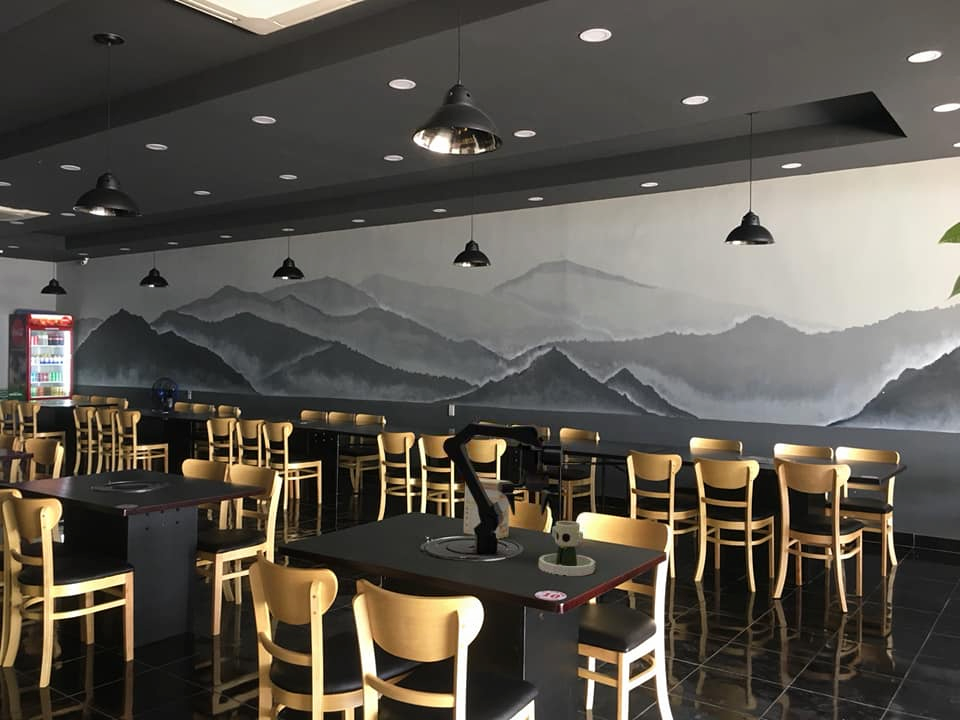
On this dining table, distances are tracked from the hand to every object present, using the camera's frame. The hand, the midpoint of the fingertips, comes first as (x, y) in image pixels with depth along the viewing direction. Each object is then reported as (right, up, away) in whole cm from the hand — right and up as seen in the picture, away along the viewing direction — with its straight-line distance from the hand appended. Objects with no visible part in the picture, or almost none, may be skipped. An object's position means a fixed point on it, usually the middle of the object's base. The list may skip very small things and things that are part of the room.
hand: (528, 515), depth 236 cm
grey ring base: (+11, -13, -13) cm, 21 cm away
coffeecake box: (-13, -13, +30) cm, 35 cm away
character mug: (+10, -13, -13) cm, 21 cm away
